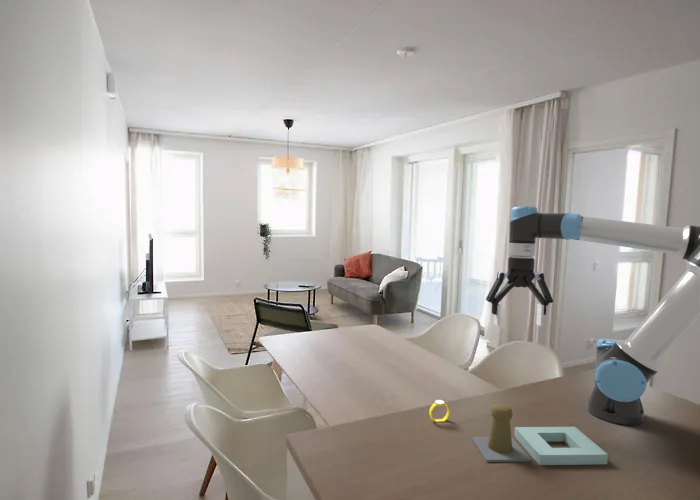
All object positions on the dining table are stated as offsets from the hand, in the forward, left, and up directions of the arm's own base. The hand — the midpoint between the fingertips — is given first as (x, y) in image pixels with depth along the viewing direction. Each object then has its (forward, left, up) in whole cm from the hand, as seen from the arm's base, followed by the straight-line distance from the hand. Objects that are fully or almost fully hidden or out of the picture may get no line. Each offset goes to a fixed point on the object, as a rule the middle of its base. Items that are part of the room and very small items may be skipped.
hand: (518, 325), depth 133 cm
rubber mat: (+15, +24, -27) cm, 39 cm away
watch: (+26, +8, -27) cm, 38 cm away
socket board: (-1, +24, -27) cm, 36 cm away
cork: (+14, +24, -26) cm, 38 cm away
